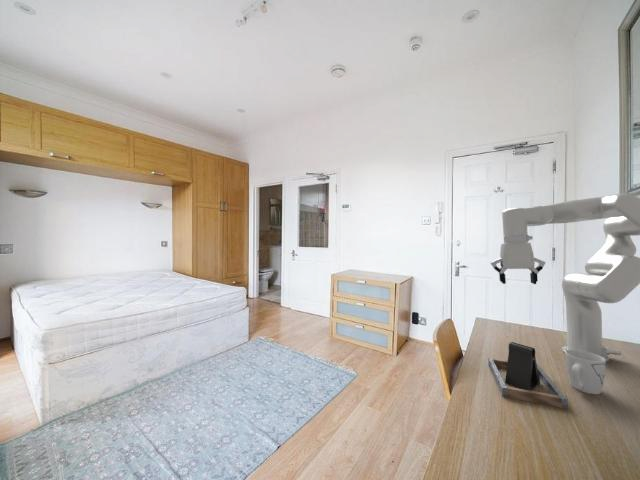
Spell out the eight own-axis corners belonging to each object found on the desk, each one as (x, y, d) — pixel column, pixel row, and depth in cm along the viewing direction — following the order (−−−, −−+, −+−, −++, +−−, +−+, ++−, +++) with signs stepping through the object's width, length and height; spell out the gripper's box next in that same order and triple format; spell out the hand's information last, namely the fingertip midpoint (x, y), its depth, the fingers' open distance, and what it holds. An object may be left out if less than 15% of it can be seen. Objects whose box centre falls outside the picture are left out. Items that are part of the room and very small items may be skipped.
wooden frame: (538, 372, 85) (538, 365, 85) (567, 408, 67) (567, 399, 67) (488, 364, 91) (488, 357, 91) (502, 396, 73) (502, 387, 73)
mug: (596, 403, 69) (595, 367, 69) (556, 388, 76) (555, 355, 76) (611, 391, 74) (610, 357, 74) (572, 378, 82) (571, 347, 82)
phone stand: (527, 392, 74) (526, 351, 74) (504, 383, 79) (503, 345, 80) (540, 383, 79) (539, 345, 79) (517, 375, 84) (516, 339, 84)
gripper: (539, 238, 99) (541, 282, 99) (487, 240, 105) (489, 281, 105) (547, 238, 92) (550, 285, 92) (492, 241, 98) (494, 284, 98)
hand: (518, 283), depth 98 cm, fingers open, 9 cm apart
